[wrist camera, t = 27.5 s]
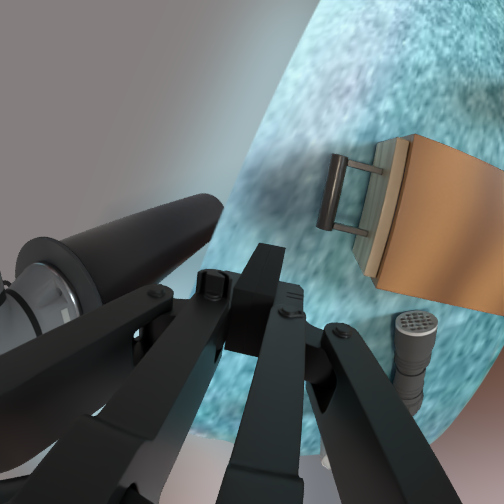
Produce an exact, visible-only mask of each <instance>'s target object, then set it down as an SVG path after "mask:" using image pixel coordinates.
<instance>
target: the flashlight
mask: <svg viewBox="0 0 504 504" xmlns="http://www.w3.org/2000/svg"><path fill="white" fill-rule="evenodd" d="M437 325H438V320H437V318H436V317H435V316H434V315H433V314H431V313H428V312H425V311H418V310H415V311H408V312H404V313H402V314H400V315H399V316H398V317H397V318H396V325H395V338H394V343H395V348H396V350H395V358H394V361H395V364H396V372H395V378H394V380H393V386H394V388H395V390H396V391H397V393H398V394H399V396H400V398H401V399H402V401H403V402H404V404H405V406H406V407H407V409H408V410H409V412H410V414H411V415H412V416H414V415H415V414H416V413H417V411H418V410H419V409H420V407H421V404H422V400H423V385H424V376H425V371H426V367H427V366H428V365H429V363H430V359H431V351H432V349H433V347H434V344H435V339H436V332H437Z"/></svg>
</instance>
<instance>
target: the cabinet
mask: <svg viewBox="0 0 504 504" xmlns="http://www.w3.org/2000/svg"><path fill="white" fill-rule="evenodd" d="M400 138H402V139H405V140H408V141H409V147H408V153H407V155H408V158H407V163H406V168H405V173H404V178H403V183H402V187H401V192H400V196H399V200H398V204H397V208H396V212H395V216H394V220H393V224H392V228H391V231H390V235H389V239H388V242H387V246H386V249H385V252H384V256H383V259H382V260H381V262H380V266H379V269H378V272H377V275H376V278H373V277H370V278H371V279H372V281H373V283H374V285H375V287H376V288H377V289H382V290H386V291H390V292H395V293H399V294H404V295H408V296H413V297H418V298H422V299H427V300H431V301H436V302H440V303H445V304H449V305H454V306H459V307H463V308H468V309H472V310H477V311H482V312H486V313H491V314H496V315H500V316H504V171H503V170H501V169H499V168H497V167H494V166H492V165H490V164H488V163H486V162H484V161H482V160H480V159H477V158H475V157H473V156H471V155H468V154H466V153H464V152H461V151H459V150H457V149H454V148H452V147H449V146H447V145H444V144H442V143H439V142H437V141H434V140H431V139H429V138H426V137H423V136H420V135H417V134H411V135H408V136H404V137H400Z"/></svg>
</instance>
